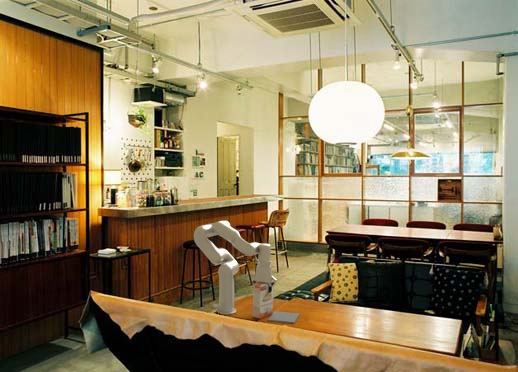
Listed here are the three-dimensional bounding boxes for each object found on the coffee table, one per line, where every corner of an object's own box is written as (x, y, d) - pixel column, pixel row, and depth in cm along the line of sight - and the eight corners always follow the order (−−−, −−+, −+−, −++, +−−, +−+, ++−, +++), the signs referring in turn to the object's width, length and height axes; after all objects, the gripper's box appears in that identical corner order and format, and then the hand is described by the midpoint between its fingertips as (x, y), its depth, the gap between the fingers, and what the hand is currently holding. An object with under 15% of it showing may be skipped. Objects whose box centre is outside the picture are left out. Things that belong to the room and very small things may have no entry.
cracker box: (260, 319, 265) (260, 284, 264) (252, 317, 268) (253, 283, 268) (273, 314, 276) (274, 281, 276) (265, 312, 279) (266, 279, 279)
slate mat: (267, 321, 262) (267, 319, 262) (274, 312, 279) (274, 311, 279) (294, 323, 258) (294, 322, 258) (299, 315, 275) (299, 313, 275)
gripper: (249, 263, 270) (248, 292, 271) (276, 265, 266) (275, 294, 266) (252, 261, 278) (251, 289, 278) (279, 263, 273) (278, 291, 273)
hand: (263, 291), depth 272 cm, fingers closed on cracker box, 7 cm apart
